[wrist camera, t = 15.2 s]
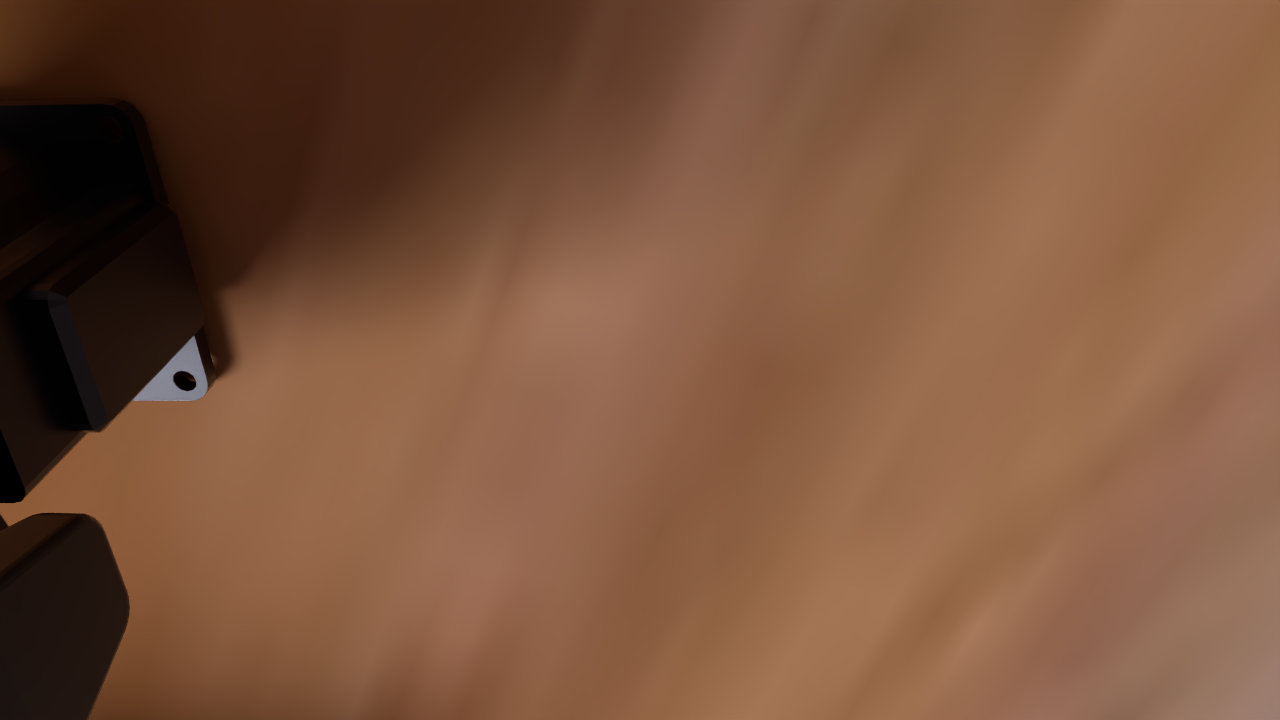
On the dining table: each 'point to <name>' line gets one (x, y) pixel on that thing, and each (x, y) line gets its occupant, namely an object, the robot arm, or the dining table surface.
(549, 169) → the dining table surface
